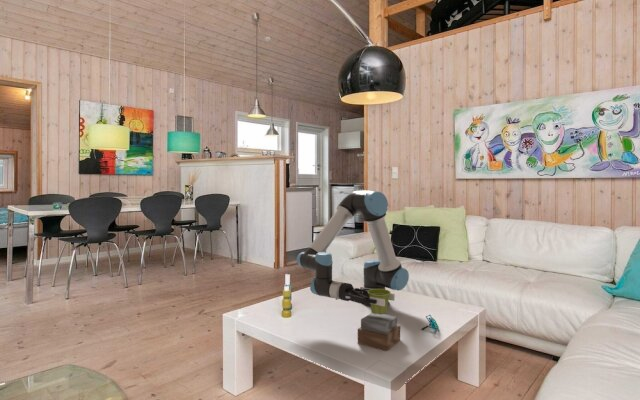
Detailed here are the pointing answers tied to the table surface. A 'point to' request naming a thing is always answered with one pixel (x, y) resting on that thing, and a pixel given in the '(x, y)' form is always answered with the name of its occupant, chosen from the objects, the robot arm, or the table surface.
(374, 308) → the plant pot
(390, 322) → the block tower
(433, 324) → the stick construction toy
